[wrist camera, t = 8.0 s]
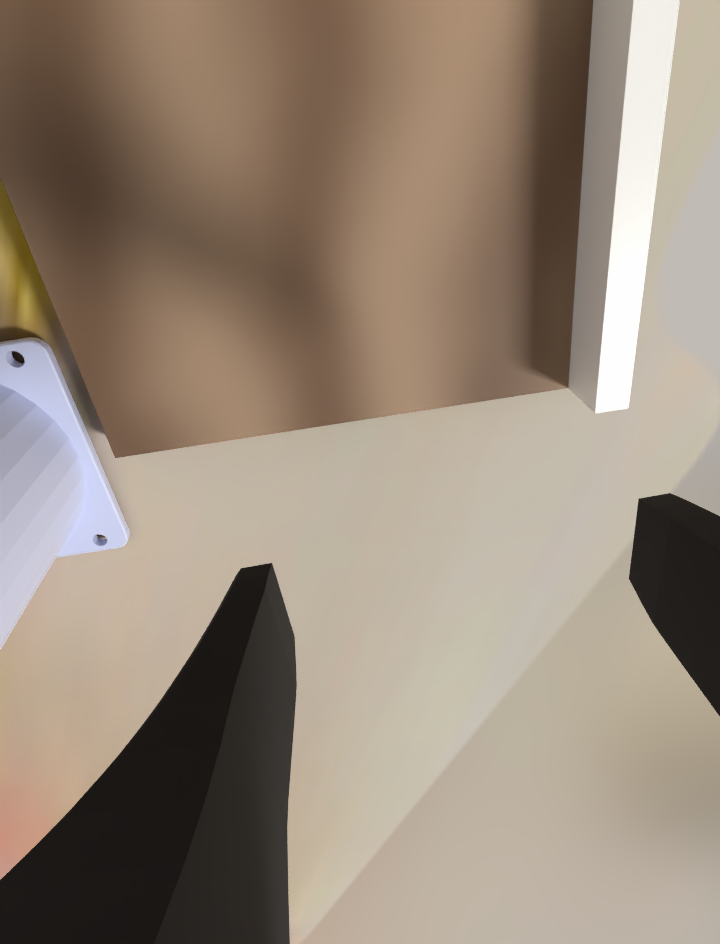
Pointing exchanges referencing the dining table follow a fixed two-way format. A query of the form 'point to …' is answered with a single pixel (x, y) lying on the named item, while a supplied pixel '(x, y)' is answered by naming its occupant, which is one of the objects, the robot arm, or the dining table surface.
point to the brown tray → (334, 202)
